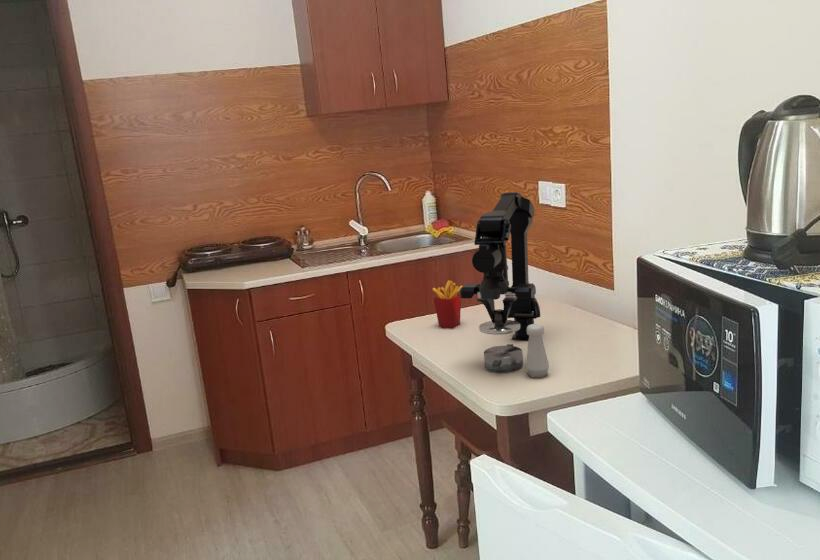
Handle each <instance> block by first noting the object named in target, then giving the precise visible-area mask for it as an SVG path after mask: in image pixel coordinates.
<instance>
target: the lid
mask: <svg viewBox="0 0 820 560" xmlns="http://www.w3.org/2000/svg"><path fill="white" fill-rule="evenodd" d="M503 310H504V309H500V308H499V309H495V310H494V323H492V320H489V321H485V322H482V323H481V324H479V326H478V328H479V329H478V330H479V331H480V333H482V334H485V335H486V334H487V335H494V336H495V335H497V336H499V335H507V334H513V333H515V332H516V331H518V330H519V329H520V323H519V322H516V321H514V320H511V319H510V320H509V319H507V322H506V324H504V320H503Z"/></svg>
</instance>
